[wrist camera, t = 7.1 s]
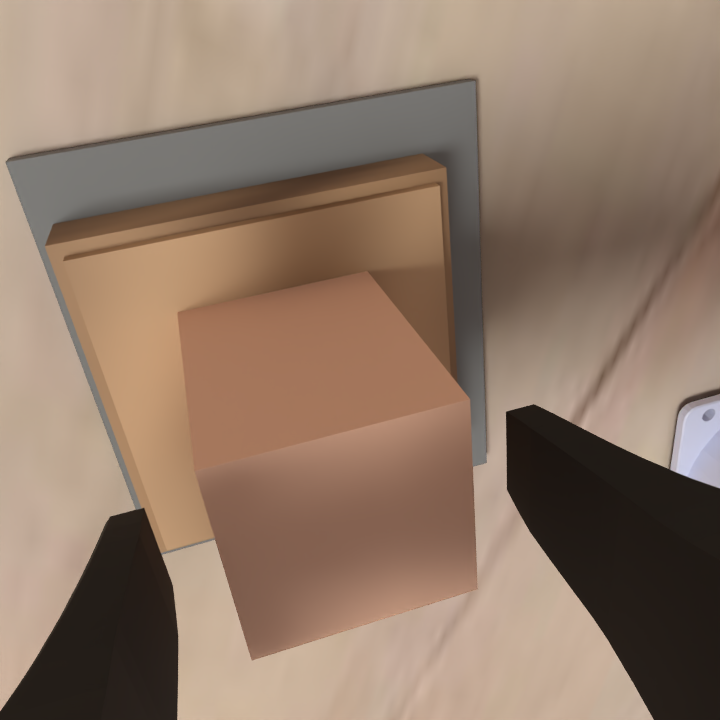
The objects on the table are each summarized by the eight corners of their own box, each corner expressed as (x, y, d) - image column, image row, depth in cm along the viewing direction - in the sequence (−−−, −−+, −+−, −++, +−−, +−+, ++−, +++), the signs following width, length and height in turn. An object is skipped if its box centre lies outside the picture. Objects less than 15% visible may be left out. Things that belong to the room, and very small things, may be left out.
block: (367, 271, 16) (470, 399, 11) (385, 424, 18) (477, 589, 13) (177, 312, 15) (194, 470, 10) (220, 467, 18) (251, 660, 13)
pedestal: (417, 150, 18) (451, 169, 16) (437, 431, 22) (466, 474, 20) (55, 218, 16) (43, 250, 14) (157, 507, 20) (158, 561, 19)
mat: (469, 79, 17) (475, 80, 17) (481, 455, 23) (486, 463, 23) (8, 158, 15) (5, 162, 15) (153, 547, 21) (153, 556, 21)
